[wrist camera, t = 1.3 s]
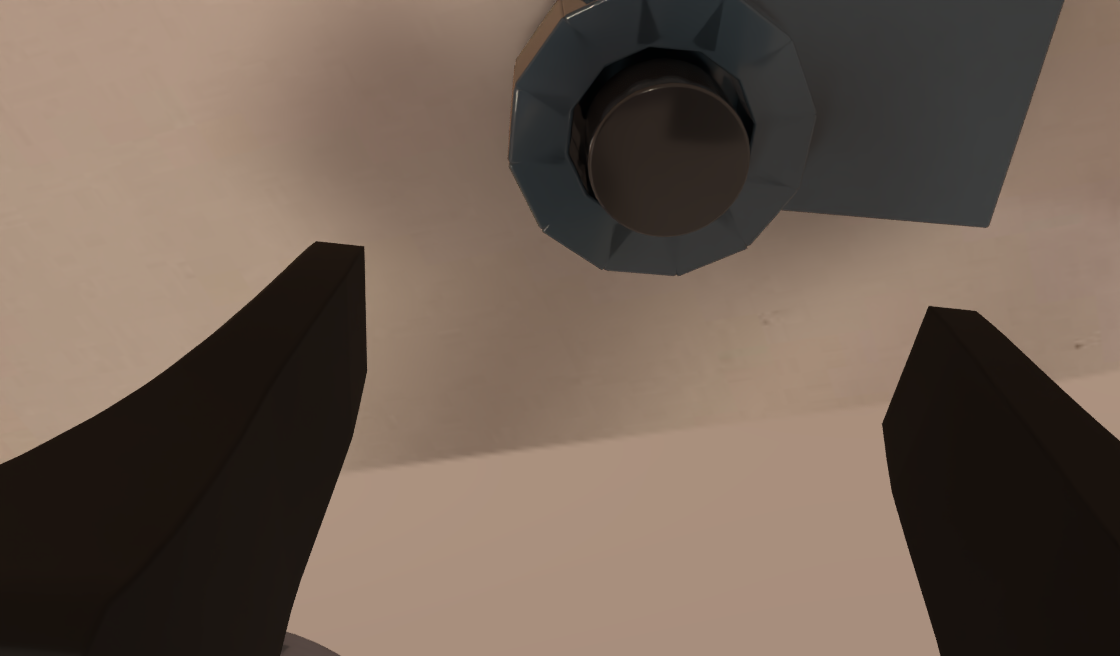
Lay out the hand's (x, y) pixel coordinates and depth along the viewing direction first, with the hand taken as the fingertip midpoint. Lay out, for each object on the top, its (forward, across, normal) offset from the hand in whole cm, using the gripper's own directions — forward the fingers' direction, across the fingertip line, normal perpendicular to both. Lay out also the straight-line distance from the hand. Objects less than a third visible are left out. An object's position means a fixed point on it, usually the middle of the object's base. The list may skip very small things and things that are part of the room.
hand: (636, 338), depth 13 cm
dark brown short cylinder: (+8, -1, +1) cm, 8 cm away
